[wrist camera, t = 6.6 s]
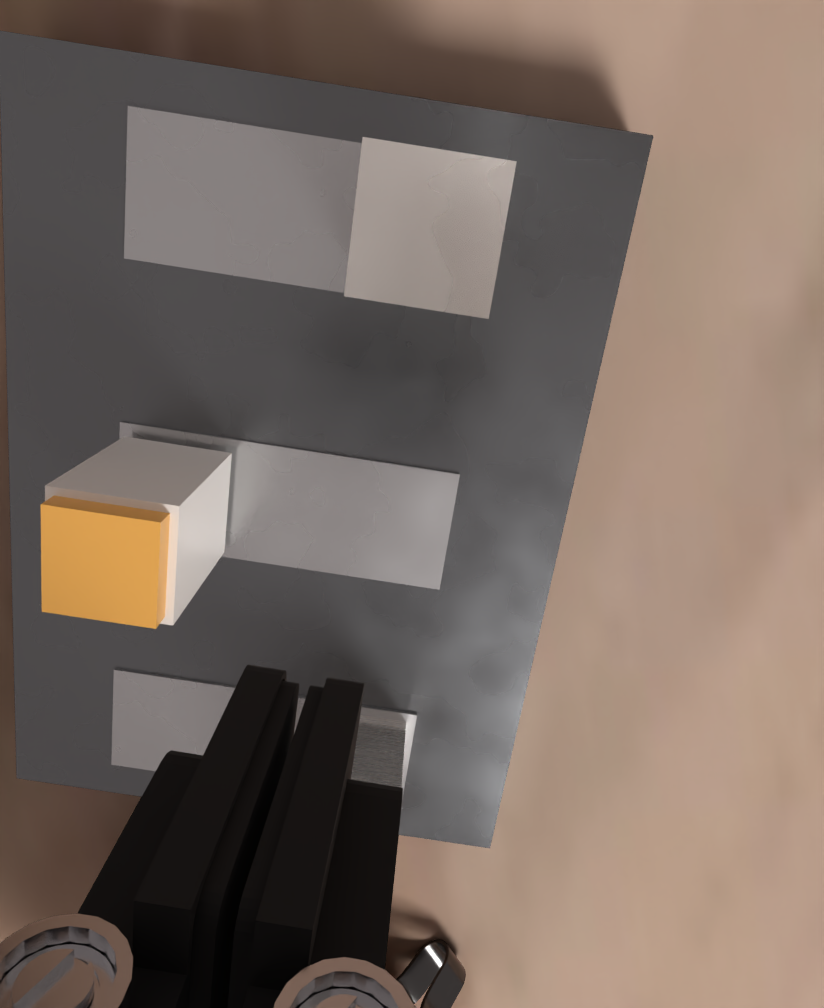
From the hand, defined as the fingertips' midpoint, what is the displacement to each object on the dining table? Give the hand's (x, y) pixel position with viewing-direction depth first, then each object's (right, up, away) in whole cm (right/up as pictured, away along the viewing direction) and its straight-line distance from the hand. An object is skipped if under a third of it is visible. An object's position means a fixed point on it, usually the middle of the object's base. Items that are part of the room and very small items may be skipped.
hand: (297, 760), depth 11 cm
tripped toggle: (-5, +4, +11) cm, 13 cm away
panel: (-2, +4, +13) cm, 14 cm away
